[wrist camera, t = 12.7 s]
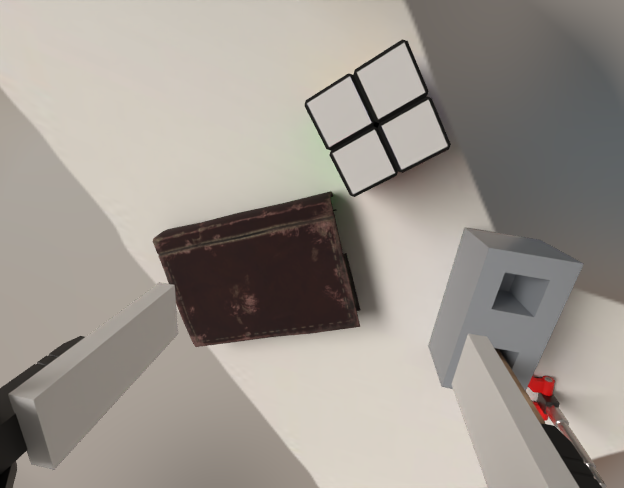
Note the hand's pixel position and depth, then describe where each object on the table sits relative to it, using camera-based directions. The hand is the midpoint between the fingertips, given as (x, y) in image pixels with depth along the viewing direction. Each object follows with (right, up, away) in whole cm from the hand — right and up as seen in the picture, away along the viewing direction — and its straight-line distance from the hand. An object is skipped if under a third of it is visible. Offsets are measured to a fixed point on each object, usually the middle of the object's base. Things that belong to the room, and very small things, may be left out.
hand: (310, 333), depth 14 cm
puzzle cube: (+7, +18, +23) cm, 30 cm away
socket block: (+22, -3, +28) cm, 36 cm away
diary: (-7, 0, +32) cm, 33 cm away
